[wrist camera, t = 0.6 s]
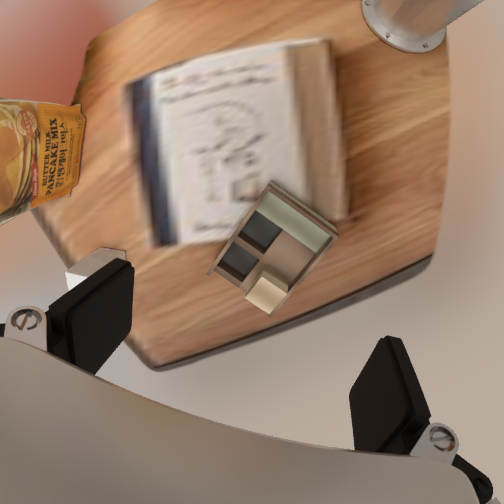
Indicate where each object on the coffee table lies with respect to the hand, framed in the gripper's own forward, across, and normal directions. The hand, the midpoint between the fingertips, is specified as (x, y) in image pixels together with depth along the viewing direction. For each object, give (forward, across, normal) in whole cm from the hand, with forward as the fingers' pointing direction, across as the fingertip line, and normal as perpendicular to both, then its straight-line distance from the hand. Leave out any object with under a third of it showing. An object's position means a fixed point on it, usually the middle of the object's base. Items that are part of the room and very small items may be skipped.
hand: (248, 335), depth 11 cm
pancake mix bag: (+34, +37, +1) cm, 50 cm away
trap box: (+33, 0, +8) cm, 34 cm away
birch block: (+31, -1, +12) cm, 33 cm away
